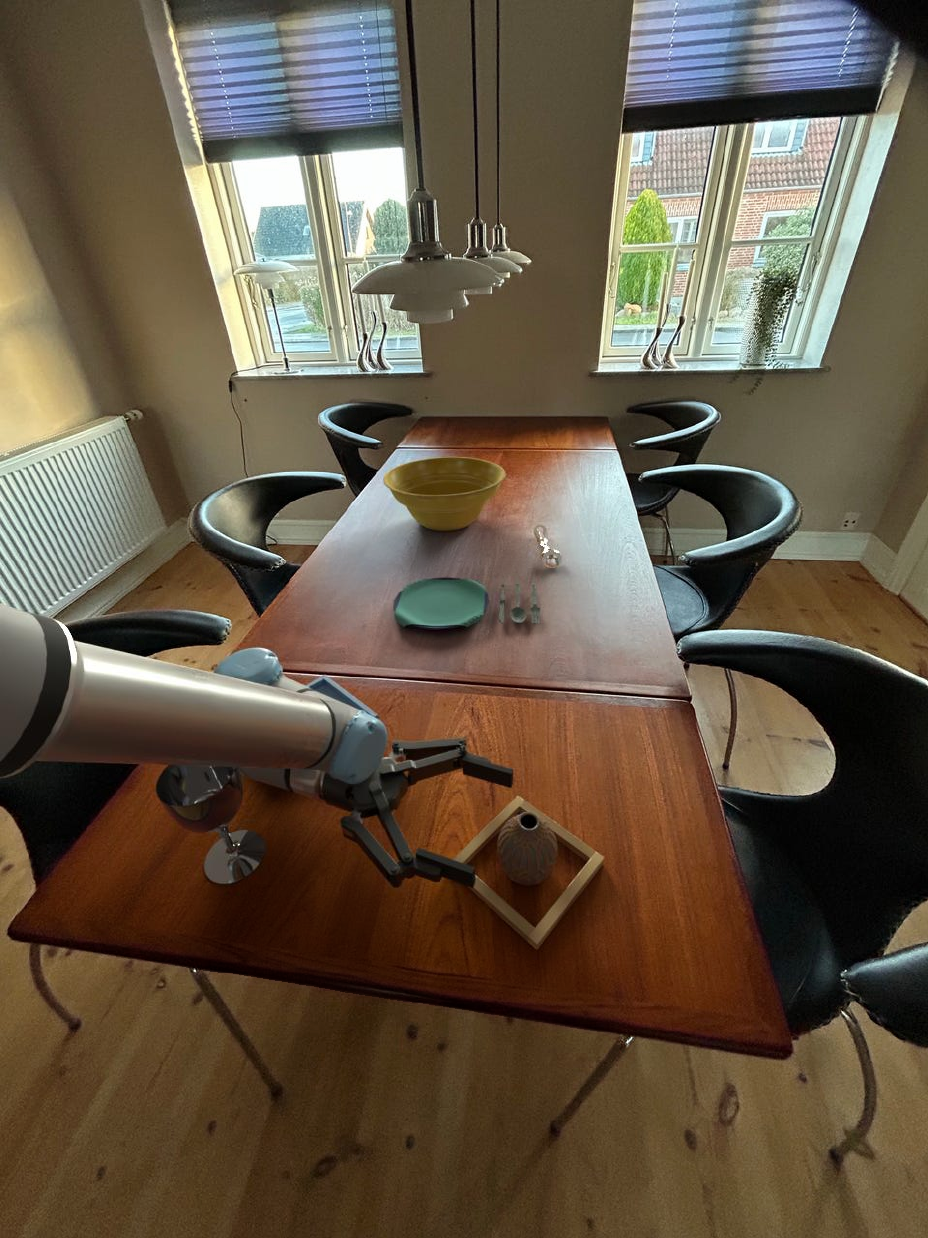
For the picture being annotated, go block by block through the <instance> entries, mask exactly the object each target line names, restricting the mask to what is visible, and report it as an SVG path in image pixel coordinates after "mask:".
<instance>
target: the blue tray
mask: <svg viewBox="0 0 928 1238" xmlns="http://www.w3.org/2000/svg"><path fill="white" fill-rule="evenodd" d="M305 686H307V687H309V688H311V689H314V690H315V691H318V692H319V693H321V694H324V695H326V696H328V697H331V698H333V699H335V700H338V701H340V702H342V703H344V704H347V705H349V706H351V707H354V708H356V709H358V710H361V711H362V710H364V711H366V713H367V714H369V715H371V716H373V717H375V718H377V719H379V720H380V718H379V714H378V713H376V711H374V710H372V709H371V708H370V707H368V706H367V705H366V704H365V703H363V702H362V701H361V700H359V699H358V698H357V697H356V696H354V695H353V694H351V693H350V692H349V691H347V690H346V689H345V688H343V687H342V686H341V685H340V684H338V683H337V682H335V681H334V680H333V679H332V678H330V677H329V676H327V675H326V674H323V675H321V676H319V677H318V678H316V679H314V680H313V681H311V682H309V683H307V684H306V685H305Z"/></svg>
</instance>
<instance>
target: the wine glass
mask: <svg viewBox="0 0 928 1238" xmlns="http://www.w3.org/2000/svg"><path fill="white" fill-rule="evenodd" d="M155 793H156V796H157V798H158V800H159V802H160V804H161V805H162V807H163V808H164V810H165V811H166V814H168V816H169V817H170V818H171V819H172V820H173V821H174V822H175V823H176V824H178V825H179V826H180V827H181V828H182V829H184V830H186V831H188V832H190V833H195V834H209V833H213V832H214V833H216V834H217V835H218V836H219V837H220V839H219V840H218V841H216V842H215V843H214V844H213V845H212V846H211V848H210V849H209V851H208V852H207V854H206V856H205V859H204V863H203V869H204V870H203V871H204V874H205V876H206V877H207V879H208V880H210V881H211V882H212V883H215V884H218V885H230V884H234V883H237V882H240V881H242V880H243V879H245V878H247V877H248V876H250V875H251V874H252V873H253V872H254V871H255V870H256V869H257V868H258V867H259V865H260V864H261V863H262V861H263V859H264V857H265V853H266V843H265V839H264V837H262V835H261V834H260V833H258V832H256V831H254V830H250V829H241V830H236V831H233V832H231V833H230V829H229V825H230V823H231V822H232V820H234V818H235V817H236V816H237V814H238V813H239V811H240V808H241V807H242V804H243V798H244V787H243V780H242V774H240V771H239V768H238V767H220V766H188V765H166V766H165V768H164V769H163V770H162V772H161V773H160V775H159V777H158V779H157V781H156V785H155Z"/></svg>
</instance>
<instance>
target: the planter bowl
mask: <svg viewBox="0 0 928 1238" xmlns="http://www.w3.org/2000/svg"><path fill="white" fill-rule="evenodd" d="M505 478H506V470H505V469H504V468H503V467H502V466H500V465H499V464H496V463H495V462H491V461H489V460H486V459H485V460H484V459H480V458H475V457H464V456H440V457H430V458H424V459H423V458H422V459H417V460H413V461H409V462H406V463H403V464H399V465H398V466H395V467H393V468H391V469H390V470H388V471H387V472H386V473H385V474H384V475H383V478H382V482H383V485H385V487H387V489H389V490H390V492H391V494H392V496H393V497H394V499H395V500H396V501H397V502H398V503H400V504H402V505H403V506H405V507H406V509H407V511H408V512H409V513H410V515H411V516H412V517H413V519H414V520H415V522H416V523H418V524H419V525H421V526H423V527H424V528H426V529H428V530H433V531H439V532H449V531H450V532H451V531H456V530H460V529H464V528H466V527H468V526H469V525H471V524H473V523H474V522H476V520H477V519H478V518H479V516H480V515H481V513H482V512H483V510H484V508H485V505H486V504H487V502H488V501H489V500H490V499H492V498H493V497H495V495H496V494H497V492H498V489H499V488H500V485H501V483H502V482H503V481H504V479H505Z"/></svg>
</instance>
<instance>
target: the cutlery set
mask: <svg viewBox="0 0 928 1238" xmlns="http://www.w3.org/2000/svg"><path fill="white" fill-rule="evenodd" d="M520 585H521V583H519V582H518V583H517V582H516V583H515V594H516V595H515V596H516V606H514V607H513V608H512V609H511V610H510V613H509V616H510V618H511V620H512V621H513V622H515V623H523V622H524V621H525V620H526V618H527V615H528V613H527V611H526V610H525V608H524V607H522V606H520ZM500 586H501V595H500V598H499V605H500V606H499V614H498V615H499V616H498V617H499V619H498V620H499V622H500V623H501V624H502V625H503V624H504V621H505V620H504V618H505V617H504V615H505V610H504V609H505V606H506V597H505V587H506V584H501V585H500ZM486 589H487V588H486V586H484V585H483V584H480V583H479V582H477V581H475V580H473V579H471V578H460V577H452V576H451V577H449V576H442V577H441V576H440V577H431V578H421V579H418V580H415V581H413V582H412V583H409V584H406V585H405V586H403V587H402V589H401V590H400V591H399V592H398V593H397V594H396V596H395V598H394V600H393V611H394V619H395V622H396V623H397V624H398V625H400V626H401V627H403V628H405V627H406V626H413V627H416V628H419V629H424V630H433V631H438V630H452V629H456V628H460V627H466V628H469V627H470V626H472V625H474V624H476V623H477V622H480V621H482V620H483V617H484V615H485V614H486V612H487V611H488V608H489V606H490V601H491V600H490V596H489V593H488V592H487V590H486ZM536 594H537V593H536V583H531V595H532V606H531V607H529V612H530V619H531V620H530V621H531V624H532V625H534V624H535V625H537V624H538V625H540V622H541V608H540V607H538V604H537V596H536Z"/></svg>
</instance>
